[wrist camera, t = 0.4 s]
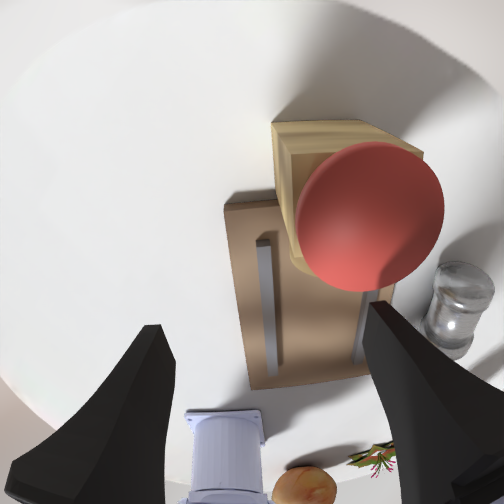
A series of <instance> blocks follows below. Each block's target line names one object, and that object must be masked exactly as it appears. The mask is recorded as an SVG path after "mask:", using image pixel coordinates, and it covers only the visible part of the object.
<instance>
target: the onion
mask: <svg viewBox="0 0 504 504" xmlns="http://www.w3.org/2000/svg"><path fill="white" fill-rule="evenodd" d="M336 493H337V486H336V483H335V481H334V480H333V478H332V477H331V476H330V475H329V474H328V473H327V472H325V471H324V470H322V469H320V468H318V467H297V468H292V469H290V470H288V471H287V472H285V473H284V474H283V475H282V476H281V477H280V478H279V479H278V481H277V482H276V484H275V487H274V489H273V493H272V501H274V502H275V504H333V503H334V501H335V497H336Z"/></svg>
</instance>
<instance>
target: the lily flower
mask: <svg viewBox="0 0 504 504" xmlns="http://www.w3.org/2000/svg"><path fill="white" fill-rule="evenodd" d="M390 444H391V447H390V449H388V448H384V447H386V446H388V445H390ZM390 444H388V445H385V446H383V447H378V446H375V445H373V447H372V448H371V450H370V451H369V452H366V453H368V455H367V456H368V457H365V456H362V454H358V455H353V456H348V457H350V458H352V460H360V459H362V460H360V461H358V462H355V463H351V464H347V465H354V466H358V467H359V468H360V467H364V466H368V465H370V464H375V466H376V465H377V464H378V465H379V467H378V469H379V468H381V464H382V462H383V464H384V465H385V467H386V466H387V467H386V469H389V471H390V469H391V470H393V469H392V468H389V467H388V465H387V464H386V463H385V461H386V460H387V461H388V460H389V461H388V462H392V463H396V462H394V461H390V459H391V457H392V456H396V453H395V448H394V443H393V442H392V443H390ZM382 450H387V451H386V452H384V453H383V454H381V453H378V456H371V455H373V454H374V453H375V452H377V451H382ZM366 453H363V454H366ZM387 461H386V462H387ZM388 462H387V463H388ZM388 464H389V463H388ZM390 465H391V466H393V465H392V464H390ZM375 466H373V468H372V469H371V470H373V469H374V467H375ZM378 469H377V468H376V469H375V471H376V470H377V471H378ZM382 470H383V469H382ZM377 471H376V472H377ZM379 471H380V469H379ZM376 472H375V473H374V475H375V474H376ZM390 472H391V471H390ZM378 473H379V472H378ZM374 475H372V476H371V478H372V477H373V476H374ZM377 476H378V475H377ZM377 476H376V478H377Z"/></svg>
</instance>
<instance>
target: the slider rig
mask: <svg viewBox="0 0 504 504" xmlns="http://www.w3.org/2000/svg"><path fill="white" fill-rule="evenodd" d="M271 132H272V146H273V160H274V175H275V190H276V195H277V198H278V199H275V200H264V201H253V202H243V203H233V204H224V219H225V226H226V233H227V240H228V247H229V253H230V260H231V267H232V274H233V280H234V287H235V293H236V300H237V306H238V313H239V319H240V326H241V332H242V338H243V344H244V350H245V357H246V363H247V369H248V375H249V381H250V387H251V390H260V389H271V388H281V387H290V386H299V385H307V384H314V383H321V382H328V381H334V380H341V379H347V378H352V377H358V376H363V375H369V374H371V373H370V371H369V368H368V365H367V361H366V357H365V353H364V349H363V345H362V339H363V334H364V329H365V323H366V318H367V312H368V306H369V302H376V301H382V300H386V301H387V302H388V303H389V304H390V302H391V298H392V293H393V288H394V284H395V283H396V282H398V281H400V280H402V279H403V278H405V277H406V276H408V275H409V274H410V273H412V272H413V271H414V270H415V269H416V268H417V267H418V266H419V265H420V264H421V263H422V262H423V261H424V260H425V259H426V257H427V256H428V255H429V253H430V252H431V250H432V249H433V247H434V245H435V243H436V241H437V239H438V237H439V234H440V232H441V228H442V224H443V219H444V197H443V192H442V188H441V185H440V183H439V181H438V178H437V177H436V175H435V173H434V172H433V170H432V169H431V168H430V167H429V166H428V165H427V164H426V163H425V162H424V161H423V154H424V152H423V151H421V150H420V149H418V148H416V147H414V146H412V145H410V144H408V143H406V142H405V141H403V140H401V139H399V138H397V137H395V136H393V135H391V134H389V133H387V132H385V131H383V130H381V129H379V128H376V127H374V126H372V125H370V124H368V123H366V122H363V121H361V120H312V121H290V122H274V123H271Z"/></svg>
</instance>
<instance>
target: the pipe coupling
mask: <svg viewBox="0 0 504 504" xmlns="http://www.w3.org/2000/svg"><path fill="white" fill-rule="evenodd" d="M433 291H434V295H433V298H432V301H431V305H430V308H429V311H428V313H427V314H426V315H425V316H424V317H423V319H422V321H421V324H420V327H419V330H418V331H419V332H420V333H421V334H422V335H423V336H424V337H425V338H426V339H427V340H429V341H430V342H431V343H432V344H433V345H434V346H436V347H437V348H438V349H439V350H440V351H442V352H443V353H444V354H445V355H447V356H448V357H449V358H450V359H452V360H453V361H454V360H457V359H460V358H462V357H463V356H464V355H465V354H466V353H467V352H468V350H469V348H470V346H471V344H472V342H473V338H474V333H473V332H474V330H475V328H476V326H477V324H478V321H479V319H480V317H481V315H482V312H483V311H485V310H486V309H487V308H488V307H489V305H490V303H491V300H492V298H493V295H494V292H495V287H494V284H493V281H492V280H491V278H490V277H489V276H488V275H487V274H486V273H485V272H484V271H482V270H481V269H479V268H477V267H475V266H473V265H471V264H468V263H463V262H448V263H444V264H442V265H441V266H440V267H439V268H438V269H437V271H436V275H435V278H434V282H433Z"/></svg>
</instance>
